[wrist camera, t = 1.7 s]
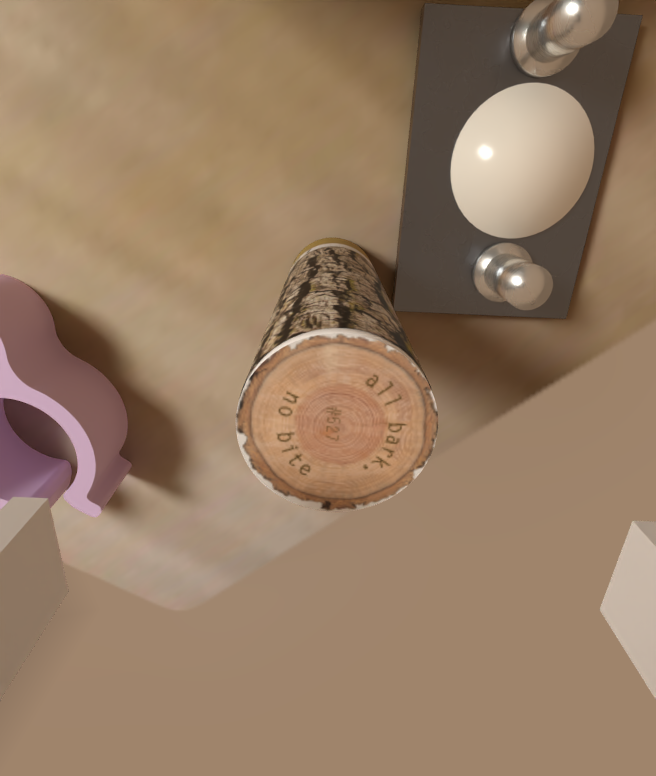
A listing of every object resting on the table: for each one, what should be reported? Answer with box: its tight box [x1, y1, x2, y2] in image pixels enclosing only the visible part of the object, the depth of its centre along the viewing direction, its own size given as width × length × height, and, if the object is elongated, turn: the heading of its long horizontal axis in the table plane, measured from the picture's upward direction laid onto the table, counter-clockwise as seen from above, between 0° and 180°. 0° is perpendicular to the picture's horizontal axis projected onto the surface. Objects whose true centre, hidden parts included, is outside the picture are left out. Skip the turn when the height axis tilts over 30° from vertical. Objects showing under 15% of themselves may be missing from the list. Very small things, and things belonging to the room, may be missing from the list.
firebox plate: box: [392, 3, 643, 319], centre depth 35 cm, size 20×14×1 cm
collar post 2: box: [510, 0, 619, 78], centre depth 29 cm, size 4×4×6 cm
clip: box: [0, 274, 132, 517], centre depth 40 cm, size 20×12×7 cm, turn 17°
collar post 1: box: [472, 242, 553, 310], centre depth 35 cm, size 4×4×6 cm
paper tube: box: [236, 238, 438, 512], centre depth 28 cm, size 7×7×25 cm
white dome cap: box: [450, 83, 594, 239], centre depth 34 cm, size 10×10×1 cm
